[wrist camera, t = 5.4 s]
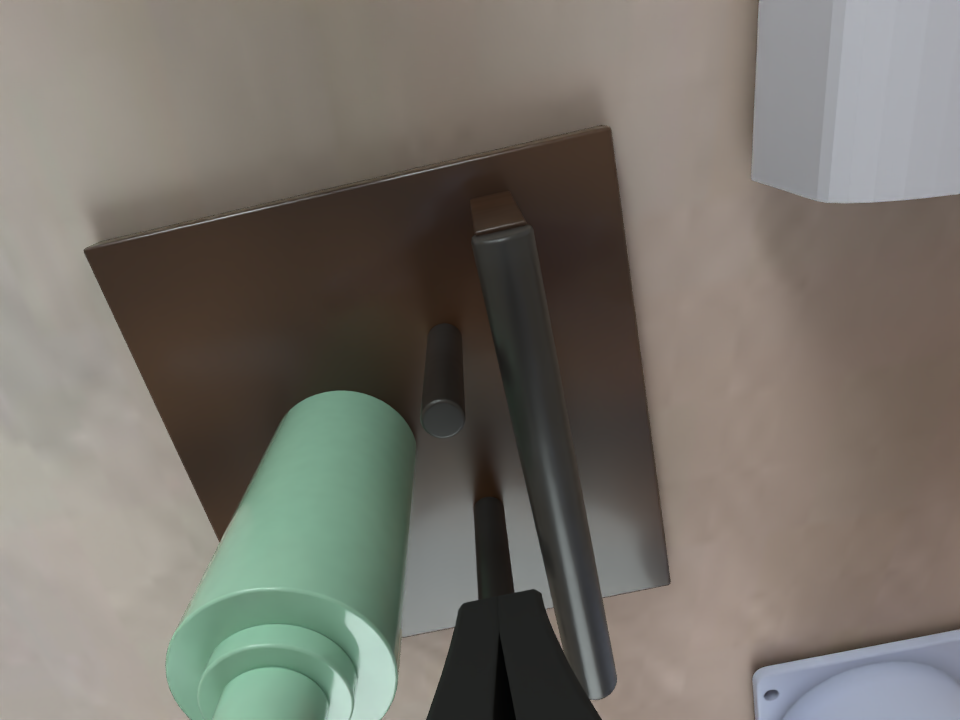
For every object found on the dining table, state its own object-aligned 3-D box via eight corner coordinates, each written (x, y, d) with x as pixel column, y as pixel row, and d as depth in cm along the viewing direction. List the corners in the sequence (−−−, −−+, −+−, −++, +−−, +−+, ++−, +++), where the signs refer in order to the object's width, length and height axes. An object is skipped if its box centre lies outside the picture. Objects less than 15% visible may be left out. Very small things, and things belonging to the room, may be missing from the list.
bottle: (593, 536, 16) (284, 1021, 9) (351, 481, 21) (16, 765, 13) (569, 393, 15) (168, 834, 7) (313, 368, 19) (-91, 620, 12)
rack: (664, 568, 21) (727, 712, 17) (280, 645, 22) (232, 805, 17) (604, 123, 16) (671, 142, 11) (97, 242, 17) (-51, 308, 12)
